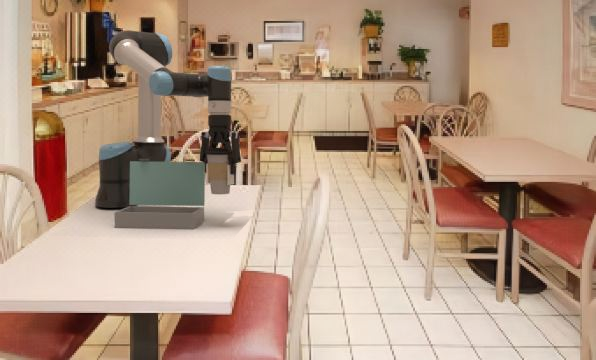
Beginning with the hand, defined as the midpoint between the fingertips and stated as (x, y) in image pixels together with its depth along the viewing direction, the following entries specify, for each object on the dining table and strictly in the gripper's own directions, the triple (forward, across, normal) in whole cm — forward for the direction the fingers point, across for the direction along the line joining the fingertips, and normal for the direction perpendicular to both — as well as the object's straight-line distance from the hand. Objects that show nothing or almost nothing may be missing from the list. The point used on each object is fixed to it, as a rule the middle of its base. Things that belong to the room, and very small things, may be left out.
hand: (220, 183), depth 204 cm
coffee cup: (+3, 0, 0) cm, 3 cm away
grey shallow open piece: (+14, -18, -9) cm, 24 cm away
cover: (+8, -21, -2) cm, 23 cm away
